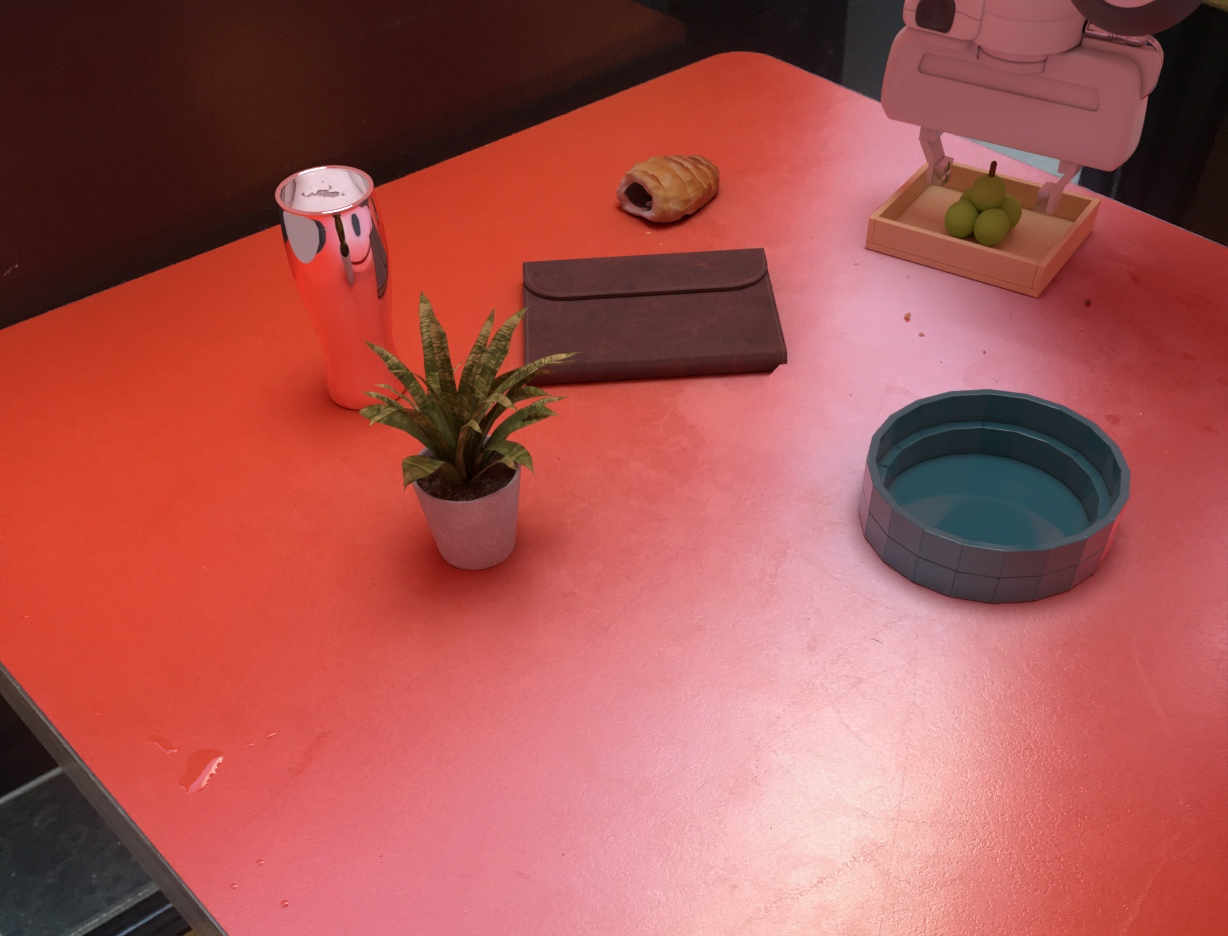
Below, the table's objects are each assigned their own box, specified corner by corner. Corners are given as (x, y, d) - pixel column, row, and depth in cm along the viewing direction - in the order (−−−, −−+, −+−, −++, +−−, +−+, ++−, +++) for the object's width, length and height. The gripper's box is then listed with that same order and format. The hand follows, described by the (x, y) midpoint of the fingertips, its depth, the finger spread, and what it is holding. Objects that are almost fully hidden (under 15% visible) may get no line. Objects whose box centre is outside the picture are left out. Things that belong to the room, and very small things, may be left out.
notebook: (786, 372, 93) (788, 348, 91) (526, 387, 93) (523, 364, 91) (761, 267, 102) (763, 244, 100) (524, 281, 102) (522, 258, 100)
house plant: (532, 654, 76) (505, 430, 63) (335, 605, 79) (270, 383, 66) (612, 511, 84) (602, 286, 71) (429, 472, 87) (388, 249, 74)
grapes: (1022, 226, 103) (1039, 155, 99) (996, 255, 101) (1012, 183, 96) (963, 210, 105) (977, 139, 100) (935, 238, 103) (948, 167, 98)
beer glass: (364, 350, 97) (322, 154, 85) (432, 378, 94) (398, 180, 82) (303, 395, 93) (249, 197, 81) (371, 425, 91) (326, 225, 79)
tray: (1092, 229, 104) (1101, 199, 102) (1037, 298, 98) (1045, 266, 96) (927, 185, 109) (932, 155, 107) (864, 248, 103) (868, 217, 101)
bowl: (1142, 500, 83) (1167, 437, 79) (1051, 647, 75) (1072, 585, 71) (921, 425, 88) (933, 363, 84) (815, 554, 81) (823, 492, 77)
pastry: (685, 169, 112) (686, 126, 109) (739, 195, 109) (741, 151, 106) (610, 207, 109) (608, 163, 106) (662, 235, 106) (663, 190, 103)
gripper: (1186, 16, 87) (1128, 210, 98) (921, -34, 95) (895, 152, 106) (1155, 50, 84) (1100, 246, 95) (884, -5, 92) (862, 183, 103)
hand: (990, 196), depth 101 cm, fingers open, 8 cm apart
